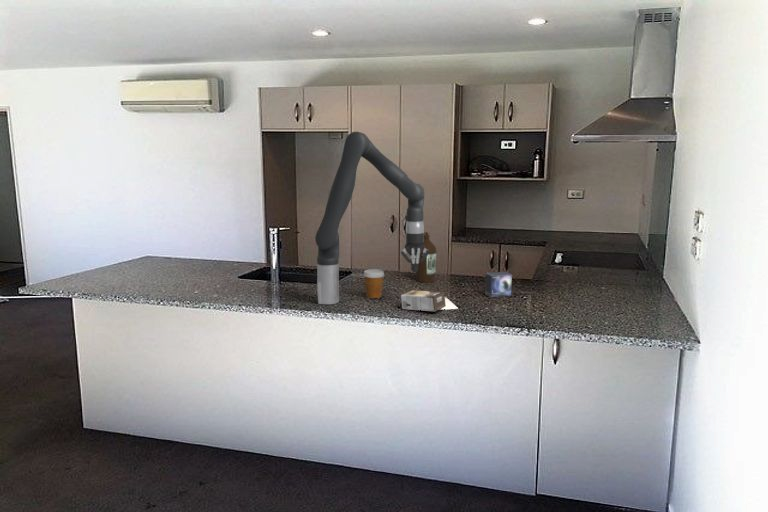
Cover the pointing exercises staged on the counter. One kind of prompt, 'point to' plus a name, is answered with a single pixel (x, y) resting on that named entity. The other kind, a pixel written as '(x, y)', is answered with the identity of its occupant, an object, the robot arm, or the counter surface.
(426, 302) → the coffee box
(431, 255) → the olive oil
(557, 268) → the counter surface
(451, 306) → the mat
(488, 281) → the small box
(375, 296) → the disposable coffee cup
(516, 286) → the counter surface
